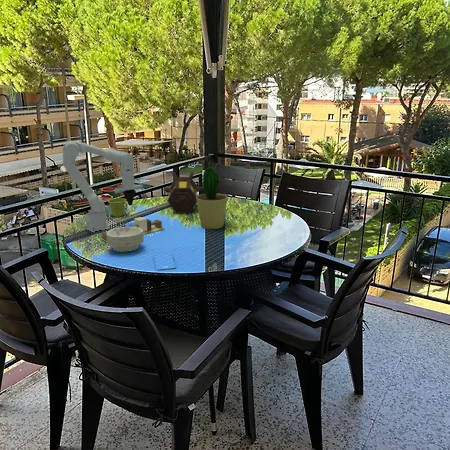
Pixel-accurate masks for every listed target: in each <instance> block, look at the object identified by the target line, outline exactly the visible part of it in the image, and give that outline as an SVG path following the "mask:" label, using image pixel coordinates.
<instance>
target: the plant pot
mask: <svg viewBox="0 0 450 450" xmlns="http://www.w3.org/2000/svg"><path fill="white" fill-rule="evenodd" d="M107 202H108V205H109V206H110V207H109V208H110V212H111V214H112V217H114V216H115V217H114V218H121V217H124V216H125V208H126V207H125V204H126V202H127V200H126V198H121V197H118V198H111V199H109V200H107ZM123 215H124V216H123Z"/></svg>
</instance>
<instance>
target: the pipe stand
mask: <svg viewBox="0 0 450 450" xmlns="http://www.w3.org/2000/svg"><path fill="white" fill-rule="evenodd" d="M131 227H138V225H136V226H135V225H132V226H131ZM151 227H152V229H151V230H147V231H144V232H143V236H145V235H149V234H152V233H157V232H160V231H165V230H166V227H165V228H164V227H163V223H162V220H159V219H154V221H151ZM138 228H139V227H138ZM107 232H108V231H107ZM107 232H106V231H101V236H102V237H101V238H102V239H104V240H106V241H107V235H106V233H107Z"/></svg>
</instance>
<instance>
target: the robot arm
mask: <svg viewBox="0 0 450 450" xmlns="http://www.w3.org/2000/svg"><path fill="white" fill-rule="evenodd" d="M84 153H90V154H94V155H98V156H102V157H103V158H104V159H105V161H109V162H113V163H116V164H120V165H121V180H122V181H121V182H122V186H121V187H120V186H119V187H116V188H114V193H115V194H119V193H122V194H123V196H124V197H125V198H124V199H126V202H127V205H128V206H132V205H133V203H134V198H135V196H136V193H137V190H143V189H144V186H143V184H135V175H134V162H135V159H134V157H133V156H132V155H131V154H129V153H128V152H125V151H123V150H118V149H115V148H114V147H111V148H109V147H108V148H106V149H104V148H102V147H101V148H100V147H97V146H95V145H91V144H88V143H87V142H81V141H75V140H67V141H66V142H64V145H63V147H62V166H63V167H64V169H65V170H66V172H67V173H68V174H69V176H70V178H71V179H72V180H73V181H74V183H76V186H77V187H78V188H79V189H80V190H81V192H82V194H83V195H84V197H86V199H87V201H88V202H89V206H90V210H89V212H87V213H85V215H84V220H85V230H87V231H88V230H89V232H90V231H91V233H92V232H93V233H96V232H95V231H98V232H100V231H99V230H102V231H106V230H105V229H107V230H110V229H111V227H110V226H108V224H107V223H108V222H107V214H106V209H105V208H106V203H105V202H104V201H103V199H102V198H101V196H99V195H97V194H96V192H95V190H94V189H93V188H92V187H91V185H90V184H89V183H88V181H87V180H86V178H85V177H84V176H83V174H82V173H81V171H80V170H79V169H78V167H77V166H76V165H75V163H76V159H77V157H78V156H79V154H84ZM109 228H110V229H109Z"/></svg>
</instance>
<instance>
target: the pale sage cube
mask: <svg viewBox="0 0 450 450" xmlns="http://www.w3.org/2000/svg"><path fill="white" fill-rule="evenodd" d="M147 219H148V218H145V217H142V216H140V217H135V218H133V222H134V223H133V224H134V226H136V225H138V227H139V228H141V229H142V230H143V232H144V231H147Z"/></svg>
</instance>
